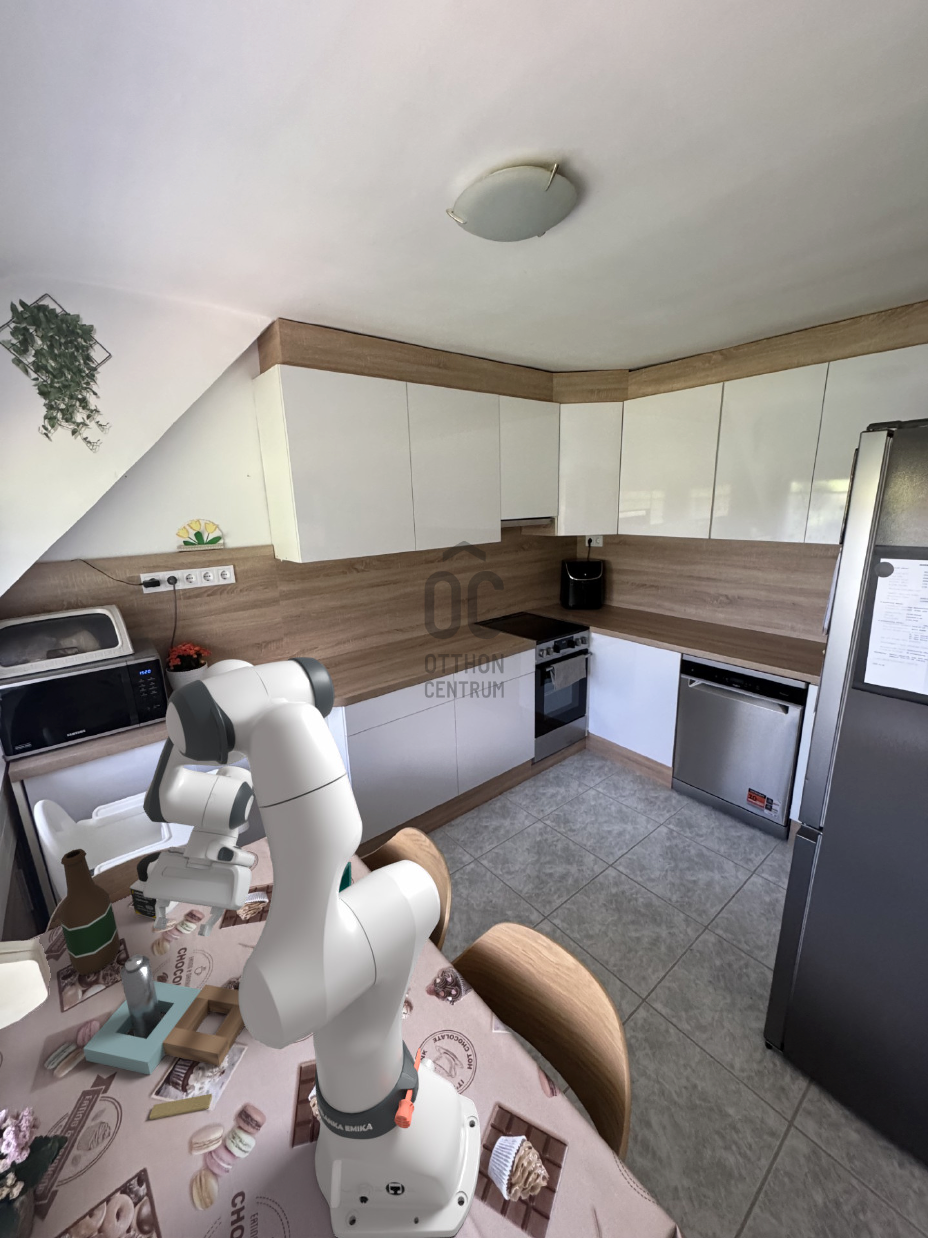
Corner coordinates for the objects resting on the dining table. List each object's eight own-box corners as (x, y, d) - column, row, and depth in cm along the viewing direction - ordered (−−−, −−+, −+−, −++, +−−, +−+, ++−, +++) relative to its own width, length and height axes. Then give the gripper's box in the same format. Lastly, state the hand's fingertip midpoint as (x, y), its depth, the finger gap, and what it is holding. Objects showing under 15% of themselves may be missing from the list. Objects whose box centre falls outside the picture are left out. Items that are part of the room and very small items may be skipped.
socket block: (257, 1004, 88) (255, 993, 87) (219, 1066, 78) (217, 1054, 77) (207, 995, 89) (205, 984, 89) (165, 1054, 80) (162, 1042, 79)
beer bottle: (130, 943, 101) (108, 841, 96) (99, 978, 93) (73, 869, 88) (95, 941, 102) (71, 839, 96) (62, 976, 94) (34, 867, 89)
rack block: (203, 1001, 89) (201, 989, 88) (150, 1075, 77) (147, 1062, 76) (146, 990, 91) (144, 979, 90) (86, 1060, 79) (83, 1048, 79)
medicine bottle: (134, 914, 108) (124, 867, 106) (162, 890, 115) (153, 845, 112) (159, 921, 106) (150, 873, 103) (186, 896, 113) (178, 851, 110)
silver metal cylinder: (167, 1019, 86) (153, 952, 82) (149, 1043, 82) (133, 974, 78) (147, 1015, 86) (133, 948, 83) (128, 1039, 82) (112, 970, 79)
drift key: (212, 1099, 74) (211, 1093, 74) (209, 1110, 73) (208, 1105, 72) (155, 1110, 73) (154, 1105, 73) (150, 1122, 71) (149, 1117, 71)
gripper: (153, 843, 98) (120, 924, 91) (246, 854, 94) (219, 940, 87) (173, 847, 103) (144, 925, 96) (262, 858, 99) (238, 939, 92)
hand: (180, 932), depth 91 cm, fingers open, 8 cm apart
